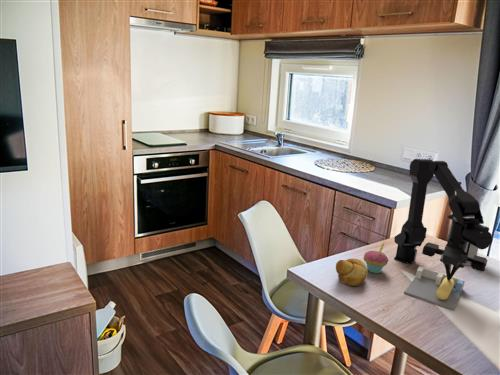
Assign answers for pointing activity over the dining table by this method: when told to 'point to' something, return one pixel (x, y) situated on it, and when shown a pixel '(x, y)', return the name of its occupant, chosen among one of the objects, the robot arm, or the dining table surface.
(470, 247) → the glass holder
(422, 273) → the capsule display stand
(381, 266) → the cupcake
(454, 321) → the dining table surface
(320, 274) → the dining table surface
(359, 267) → the bread roll
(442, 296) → the yellow pill shape
